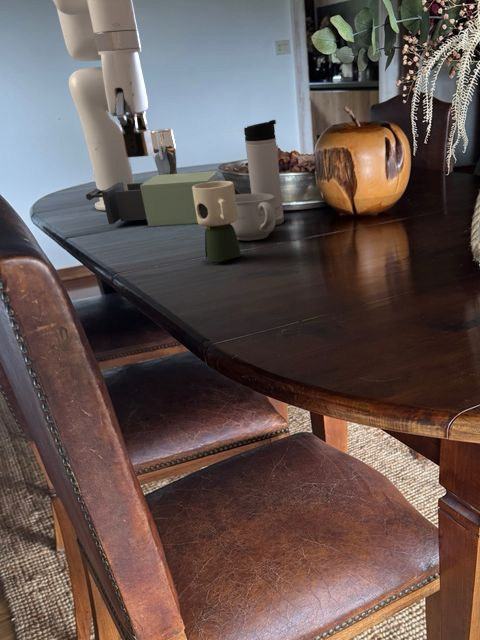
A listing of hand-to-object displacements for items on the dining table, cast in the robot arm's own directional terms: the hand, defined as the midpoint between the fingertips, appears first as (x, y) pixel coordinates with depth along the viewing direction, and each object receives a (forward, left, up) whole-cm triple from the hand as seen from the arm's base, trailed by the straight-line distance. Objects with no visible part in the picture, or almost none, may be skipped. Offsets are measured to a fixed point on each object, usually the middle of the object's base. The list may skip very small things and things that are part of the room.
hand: (140, 153), depth 124 cm
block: (0, 0, 0) cm, 0 cm away
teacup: (+18, +11, -17) cm, 27 cm away
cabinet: (-12, +17, -17) cm, 27 cm away
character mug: (+24, -2, -17) cm, 29 cm away
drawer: (-21, +9, -16) cm, 28 cm away
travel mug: (+11, +22, -17) cm, 30 cm away
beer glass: (-53, +42, -17) cm, 70 cm away
